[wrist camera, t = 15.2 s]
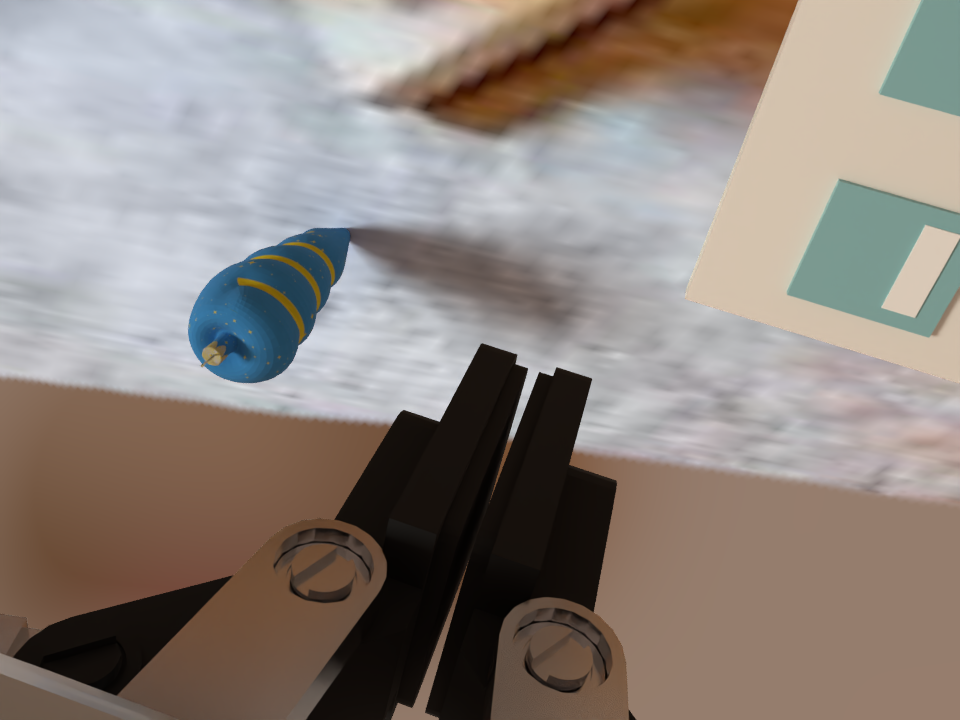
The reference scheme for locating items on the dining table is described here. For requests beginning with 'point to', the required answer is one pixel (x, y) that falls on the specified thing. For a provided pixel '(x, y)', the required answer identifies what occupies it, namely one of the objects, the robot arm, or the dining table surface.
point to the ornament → (266, 305)
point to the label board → (850, 187)
